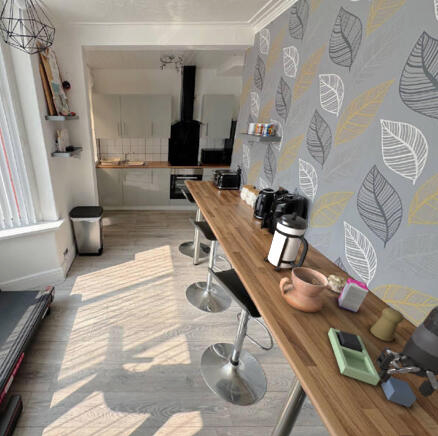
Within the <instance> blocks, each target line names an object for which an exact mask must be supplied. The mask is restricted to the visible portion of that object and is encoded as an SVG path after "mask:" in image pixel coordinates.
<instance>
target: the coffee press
mask: <svg viewBox="0 0 438 436" xmlns="http://www.w3.org/2000/svg"><path fill="white" fill-rule="evenodd" d="M308 227H309V225H308V222H307V220H305V219H304V218H303V217H301V216H299V214H298V213H297V212H296V211H295V212H293V213H292V214H283V215H280V216H279V217H278V219H277V224H276V226H275V229H274V233H273V235H272V236H273V237H272V240H271V243H270V247H269V250H268V252H267V253H268V254H267V256H265V257H264V258H263V260H264V261H266V262H268V261H269V263H270V264H272V265H273V266H275V267H276V268H275V271H276V272H279V271H280V268H281V269H291V271H292V270H293V269H294V268H297V267H303V265H304V263H305V261H306V258H307V255H308V251H309V242H308V240H307V239H306V238H305V234H306V230H307V229H308ZM302 245H303V248H302V252H301V254H300V257H299V260H298V263H297V264H296V263H295V262H296V260H297V258H298V255H299V251H300V249H301V247H302Z"/></svg>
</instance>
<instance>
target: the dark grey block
mask: <svg viewBox="0 0 438 436" xmlns="http://www.w3.org/2000/svg"><path fill="white" fill-rule="evenodd" d="M357 336H358V334H353V333H351V334H350V332H347V331H344V330H340V332H339V334H338V336H337V338H338V340H339V343H340V346H343V347H346V348H349V349H352V350H356V351H359V350H360V349H361V347H362V346H361V344H360V341H359V339H358V337H357Z"/></svg>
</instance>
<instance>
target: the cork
mask: <svg viewBox="0 0 438 436" xmlns="http://www.w3.org/2000/svg"><path fill="white" fill-rule="evenodd" d="M381 314H382V316H381V317H380V318H378V320H377V321H376V322H375V323H374V324H373V325H372V326H371V327H370V332H371V334H373V336H375V337H376V338H378V339H380V340H382V341H385V342H392V341H393V340H394V336H395V334H396V331H397V328H398V326H399V324H400V323H403V321H404V319H405V316H404V314H403V313H402V312H401V311H400V310H397V309H396V308H392V307H386V308H384V309H383V310H382V312H381Z"/></svg>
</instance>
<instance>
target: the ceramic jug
mask: <svg viewBox="0 0 438 436" xmlns="http://www.w3.org/2000/svg"><path fill="white" fill-rule="evenodd" d="M327 278H328V277H326V276H325V275H323V273H321V272H319V271H317V270H314V269H312V268H309V267H303V266H301V267H297V268H294V267H293V270H292V269H291V277H283V278H281V280H280V282H279V289H280V291H281V295H280V296H282V298H283V300H284V301H285V302H286V303H287V304H288V305H289V306H291V307H292V308H294V309H295V310H298V311H301V312H304V313H309V314H311V313H317V312H320V310H321V309H322V307H323V306H324V299H323V298H322V297H321V296H320V294H321V293H322V292H324V290H326V289H328V290H330V291H332V290H331V289H332V287H331V286H330V285H328V280H327ZM314 279H316V280H317V281H318V282H319V283H314V281H313V280H314ZM286 283H289V284H286ZM285 284H286V285H285Z"/></svg>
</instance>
